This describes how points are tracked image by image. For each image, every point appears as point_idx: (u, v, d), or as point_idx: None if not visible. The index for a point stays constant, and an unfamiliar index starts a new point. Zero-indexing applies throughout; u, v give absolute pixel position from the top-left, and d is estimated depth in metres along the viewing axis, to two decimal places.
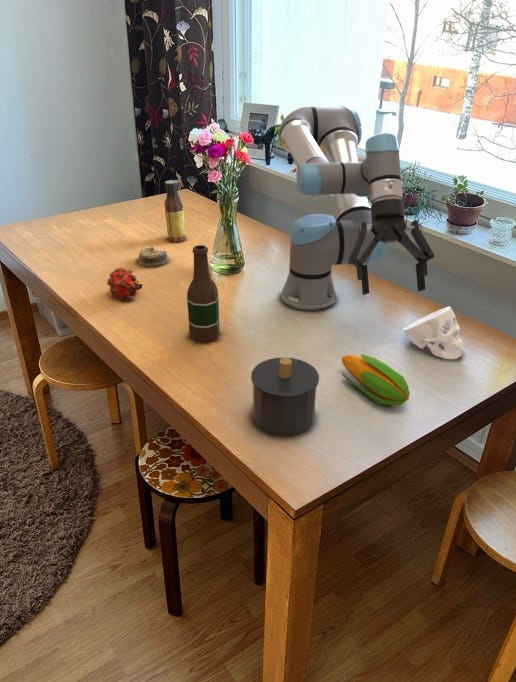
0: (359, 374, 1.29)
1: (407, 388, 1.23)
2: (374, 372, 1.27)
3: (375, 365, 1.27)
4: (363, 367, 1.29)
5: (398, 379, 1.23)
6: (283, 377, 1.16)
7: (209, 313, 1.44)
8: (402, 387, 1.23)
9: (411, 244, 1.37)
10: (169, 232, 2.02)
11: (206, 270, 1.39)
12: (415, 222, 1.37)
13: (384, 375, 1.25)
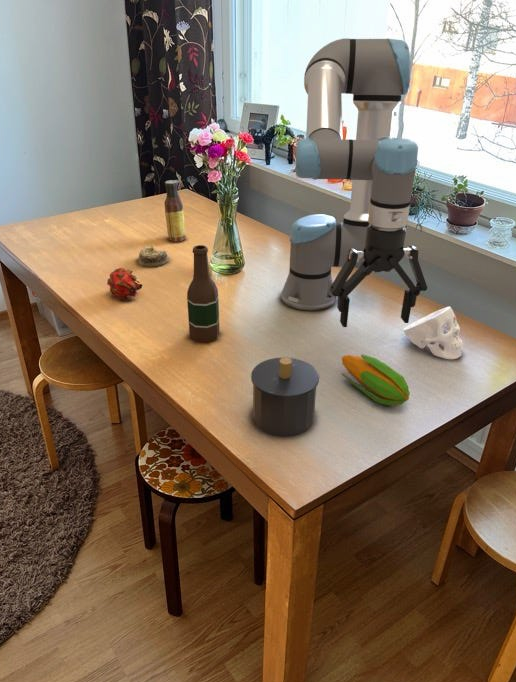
0: (359, 374, 1.29)
1: (407, 388, 1.23)
2: (374, 372, 1.27)
3: (375, 365, 1.27)
4: (363, 367, 1.29)
5: (398, 379, 1.23)
6: (283, 377, 1.16)
7: (209, 313, 1.44)
8: (402, 387, 1.23)
9: (404, 276, 1.19)
10: (169, 232, 2.02)
11: (206, 270, 1.39)
12: (415, 252, 1.17)
13: (384, 375, 1.25)
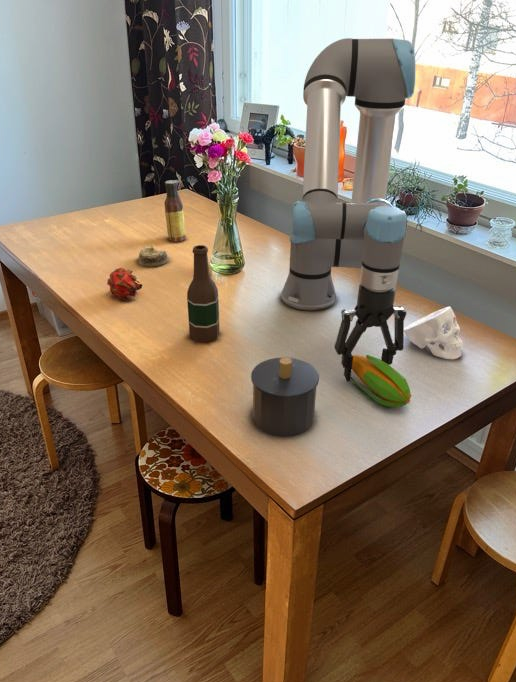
0: (363, 374, 1.29)
1: (408, 390, 1.23)
2: (376, 373, 1.27)
3: (378, 366, 1.26)
4: (366, 368, 1.29)
5: (400, 381, 1.23)
6: (283, 377, 1.16)
7: (209, 313, 1.44)
8: (403, 389, 1.22)
9: (387, 335, 1.26)
10: (169, 232, 2.02)
11: (206, 270, 1.39)
12: (403, 314, 1.24)
13: (386, 376, 1.25)
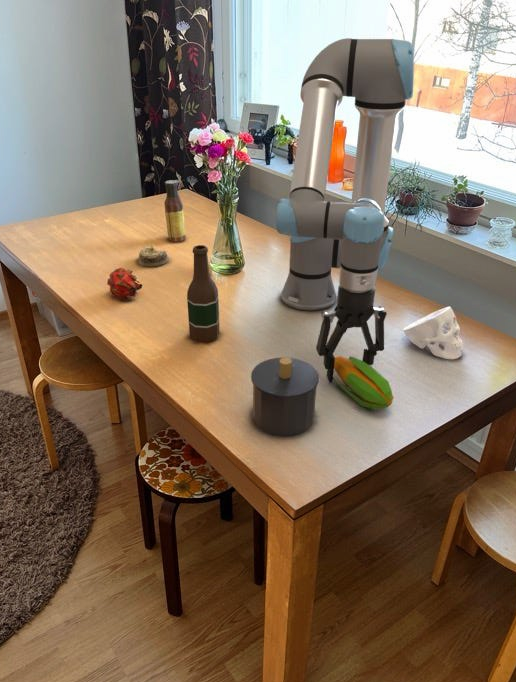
0: (346, 376, 1.29)
1: (390, 393, 1.22)
2: (359, 375, 1.26)
3: (361, 368, 1.26)
4: (349, 369, 1.28)
5: (381, 383, 1.22)
6: (283, 377, 1.16)
7: (209, 313, 1.44)
8: (385, 391, 1.21)
9: (367, 335, 1.26)
10: (169, 232, 2.02)
11: (206, 270, 1.39)
12: (383, 314, 1.23)
13: (368, 378, 1.24)
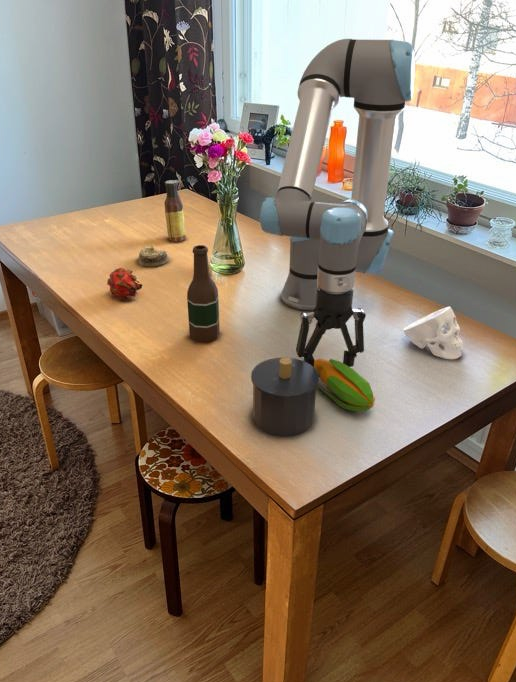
0: (326, 378, 1.28)
1: (371, 394, 1.21)
2: (340, 377, 1.25)
3: (341, 370, 1.25)
4: (330, 372, 1.27)
5: (363, 385, 1.22)
6: (283, 377, 1.16)
7: (209, 313, 1.44)
8: (366, 393, 1.21)
9: (347, 337, 1.25)
10: (169, 232, 2.02)
11: (206, 270, 1.39)
12: (362, 315, 1.23)
13: (349, 380, 1.24)
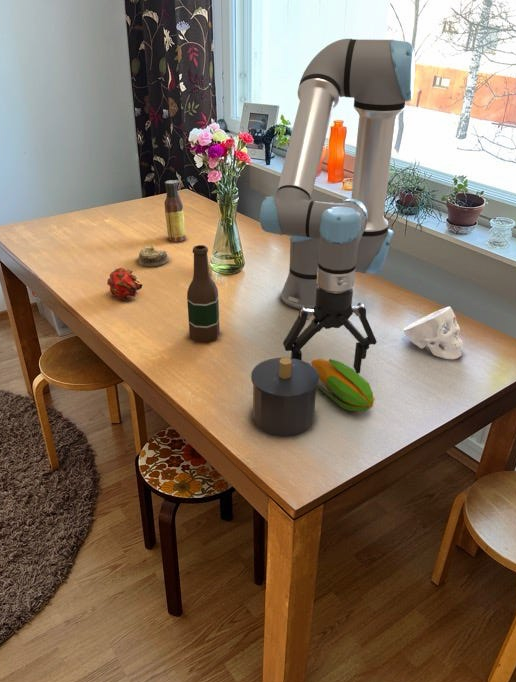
0: (326, 379, 1.28)
1: (371, 394, 1.21)
2: (339, 377, 1.25)
3: (341, 370, 1.25)
4: (329, 372, 1.27)
5: (362, 385, 1.21)
6: (283, 377, 1.16)
7: (209, 313, 1.44)
8: (366, 393, 1.21)
9: (354, 332, 1.25)
10: (169, 232, 2.02)
11: (206, 270, 1.39)
12: (363, 310, 1.22)
13: (349, 381, 1.24)
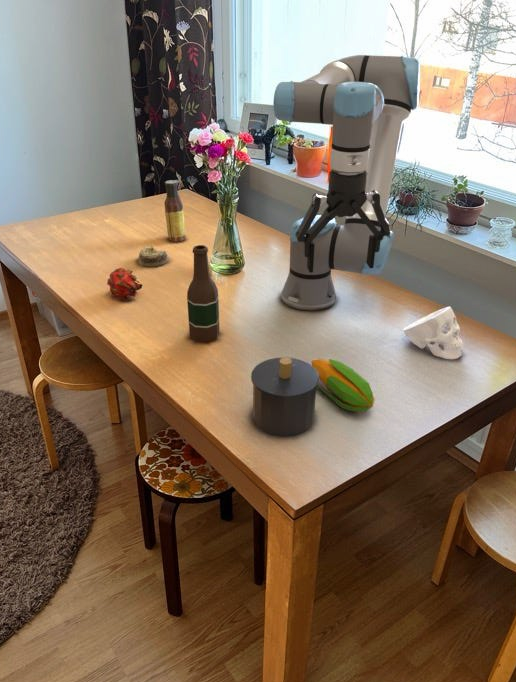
0: (326, 379, 1.28)
1: (371, 395, 1.21)
2: (339, 377, 1.25)
3: (341, 370, 1.25)
4: (329, 372, 1.27)
5: (362, 385, 1.21)
6: (283, 377, 1.16)
7: (209, 313, 1.44)
8: (366, 393, 1.21)
9: (367, 221, 1.23)
10: (169, 232, 2.02)
11: (206, 270, 1.39)
12: (377, 197, 1.20)
13: (349, 381, 1.24)
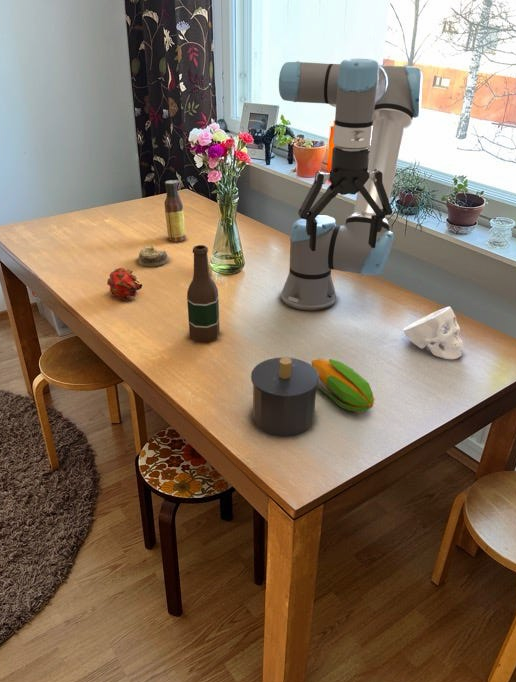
0: (326, 379, 1.28)
1: (371, 394, 1.21)
2: (339, 377, 1.25)
3: (341, 370, 1.25)
4: (329, 372, 1.27)
5: (362, 385, 1.21)
6: (283, 377, 1.16)
7: (209, 313, 1.44)
8: (366, 393, 1.21)
9: (370, 200, 1.24)
10: (169, 232, 2.02)
11: (206, 270, 1.39)
12: (379, 175, 1.21)
13: (349, 381, 1.24)
